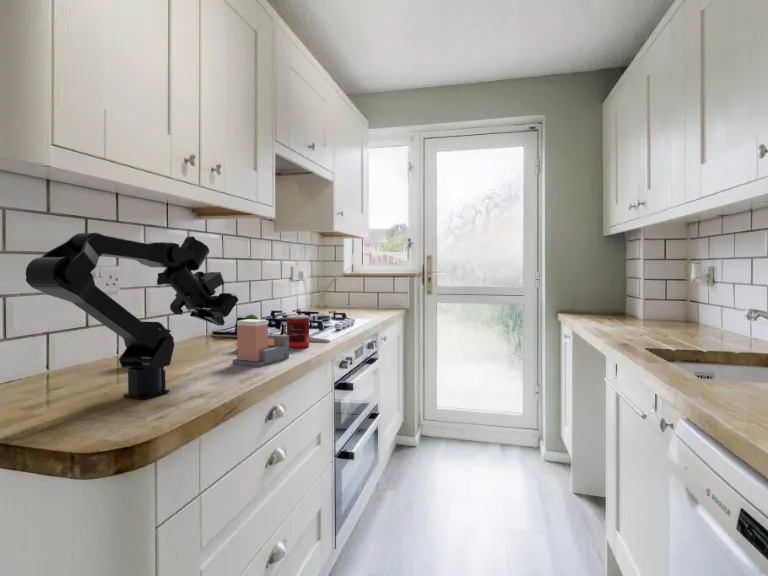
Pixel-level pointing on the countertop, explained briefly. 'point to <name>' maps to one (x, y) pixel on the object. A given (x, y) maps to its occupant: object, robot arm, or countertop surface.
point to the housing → (270, 351)
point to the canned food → (298, 331)
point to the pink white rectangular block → (251, 339)
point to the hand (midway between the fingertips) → (221, 324)
